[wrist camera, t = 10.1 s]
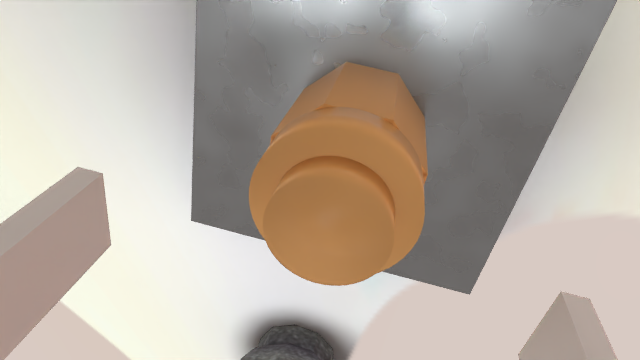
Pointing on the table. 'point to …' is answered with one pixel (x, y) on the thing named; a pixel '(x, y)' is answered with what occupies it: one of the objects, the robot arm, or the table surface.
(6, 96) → the table surface
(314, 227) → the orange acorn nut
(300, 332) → the mortar and pestle
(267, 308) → the table surface
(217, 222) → the junction plate
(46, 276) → the robot arm
